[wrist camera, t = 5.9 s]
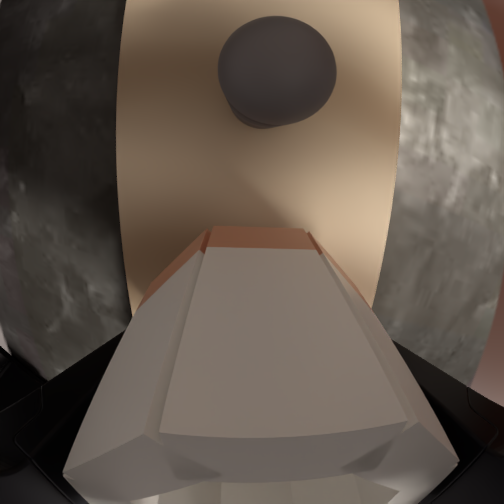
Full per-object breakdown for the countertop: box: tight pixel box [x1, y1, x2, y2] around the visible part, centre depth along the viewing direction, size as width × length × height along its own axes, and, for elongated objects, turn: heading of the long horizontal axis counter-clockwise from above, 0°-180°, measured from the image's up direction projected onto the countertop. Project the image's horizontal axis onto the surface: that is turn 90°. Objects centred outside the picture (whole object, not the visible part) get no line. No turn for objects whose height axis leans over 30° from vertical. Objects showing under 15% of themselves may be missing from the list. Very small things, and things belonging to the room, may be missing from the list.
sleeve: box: [62, 226, 460, 504], centre depth 6 cm, size 6×6×6 cm
